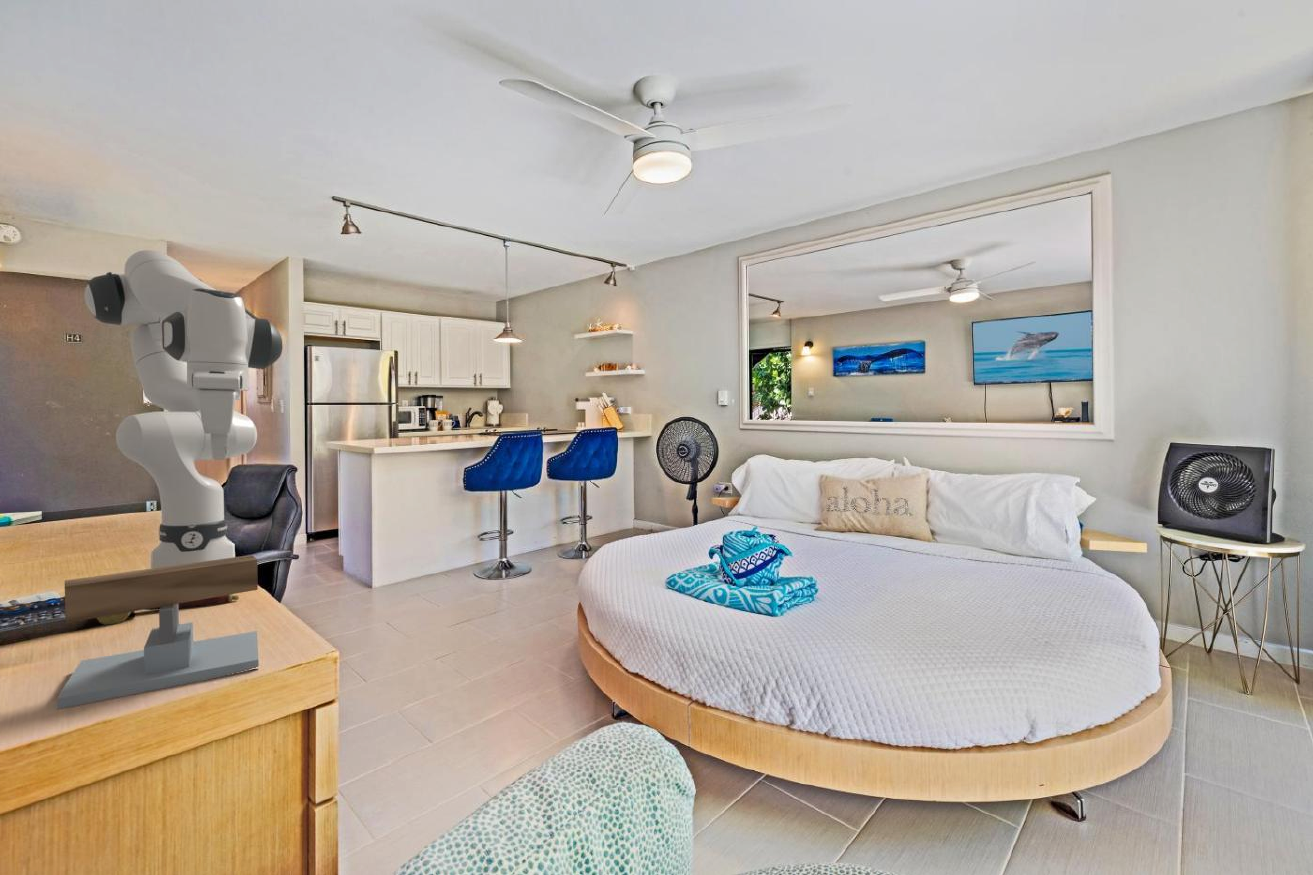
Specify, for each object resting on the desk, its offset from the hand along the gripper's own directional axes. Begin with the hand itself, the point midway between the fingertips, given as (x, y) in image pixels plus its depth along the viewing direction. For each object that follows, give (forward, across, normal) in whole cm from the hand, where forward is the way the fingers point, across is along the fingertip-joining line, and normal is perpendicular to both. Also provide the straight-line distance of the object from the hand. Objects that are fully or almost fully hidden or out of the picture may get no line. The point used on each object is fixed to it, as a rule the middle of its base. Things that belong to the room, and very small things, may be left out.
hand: (219, 457), depth 105 cm
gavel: (+32, -18, -8) cm, 37 cm away
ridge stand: (+31, +17, -6) cm, 36 cm away
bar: (+20, +17, -6) cm, 27 cm away
